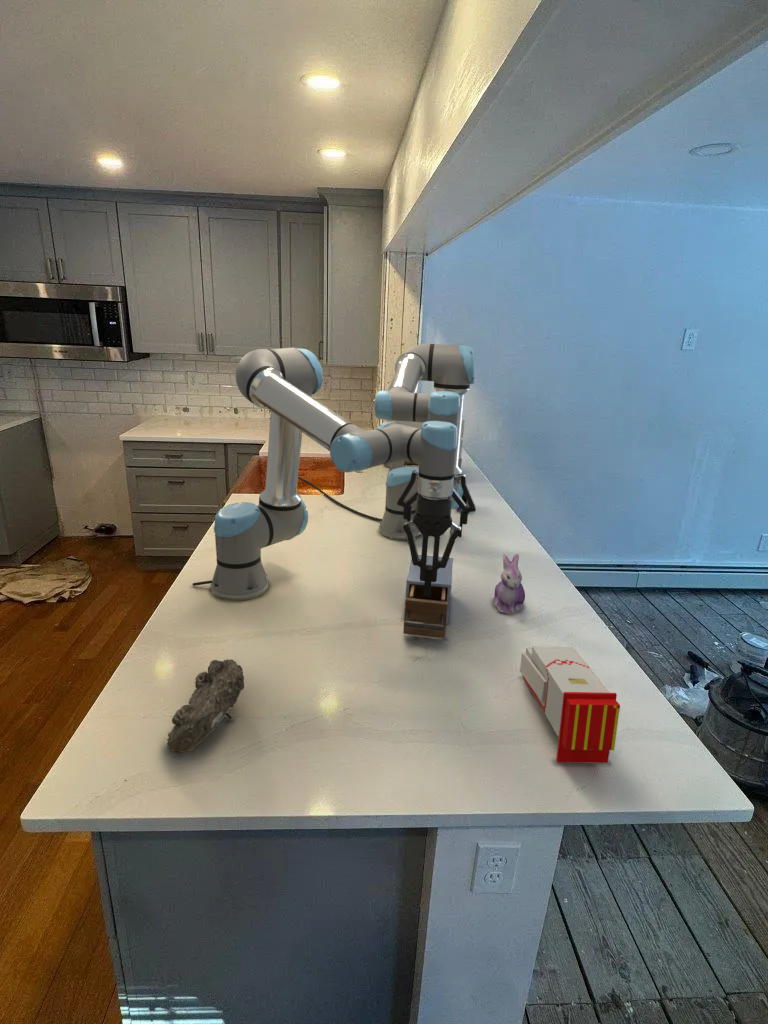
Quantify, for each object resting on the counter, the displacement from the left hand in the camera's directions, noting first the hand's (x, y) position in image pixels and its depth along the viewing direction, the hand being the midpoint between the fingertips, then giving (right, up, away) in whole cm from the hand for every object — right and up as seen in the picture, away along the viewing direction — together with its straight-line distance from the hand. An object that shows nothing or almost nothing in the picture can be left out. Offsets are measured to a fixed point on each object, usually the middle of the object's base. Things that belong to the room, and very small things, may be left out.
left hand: (427, 593), depth 129 cm
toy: (+25, -22, -15) cm, 36 cm away
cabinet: (+2, -7, +23) cm, 24 cm away
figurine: (+24, -7, +25) cm, 35 cm away
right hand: (+3, +13, +21) cm, 25 cm away
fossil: (-43, -21, -21) cm, 52 cm away
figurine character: (+21, +20, +100) cm, 104 cm away
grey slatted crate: (+7, +37, +146) cm, 151 cm away
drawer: (0, -10, +12) cm, 15 cm away
